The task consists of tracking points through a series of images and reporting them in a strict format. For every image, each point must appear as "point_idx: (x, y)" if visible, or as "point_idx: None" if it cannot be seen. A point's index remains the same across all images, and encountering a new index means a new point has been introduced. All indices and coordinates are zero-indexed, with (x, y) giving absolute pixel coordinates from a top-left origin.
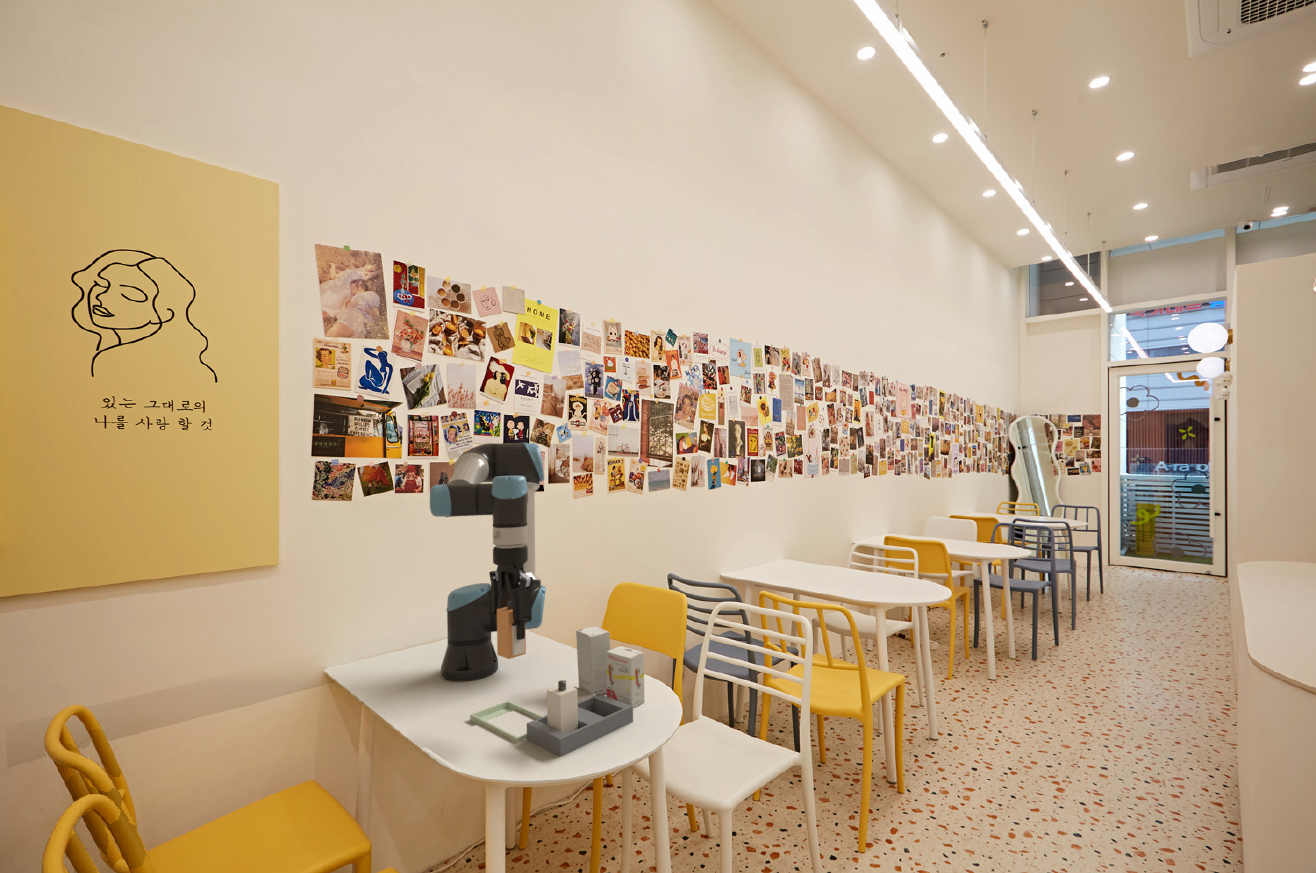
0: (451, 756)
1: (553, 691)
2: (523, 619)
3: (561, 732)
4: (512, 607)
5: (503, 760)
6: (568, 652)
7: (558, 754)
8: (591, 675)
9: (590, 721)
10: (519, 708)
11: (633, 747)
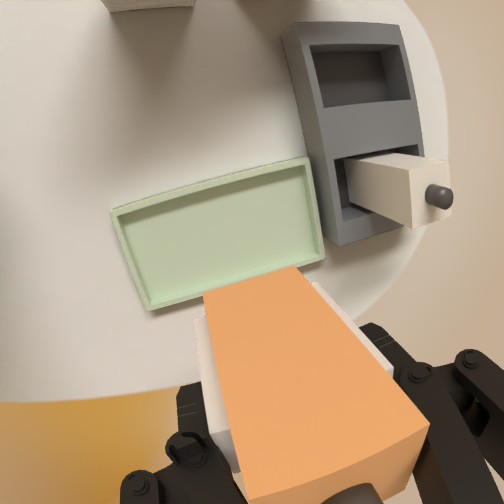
0: None
1: (427, 218)
2: (475, 399)
3: None
4: (423, 496)
5: (347, 287)
6: None
7: None
8: None
9: (410, 132)
10: (168, 199)
11: (436, 94)
